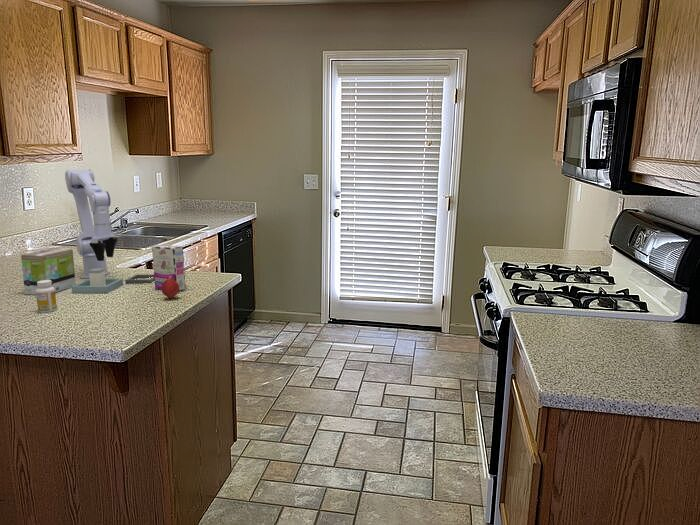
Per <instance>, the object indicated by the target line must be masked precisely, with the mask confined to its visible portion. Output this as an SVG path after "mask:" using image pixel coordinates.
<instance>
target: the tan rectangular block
mask: <svg viewBox="0 0 700 525" xmlns="http://www.w3.org/2000/svg"><path fill="white" fill-rule="evenodd" d="M88 279H90V286H106V279H107V278H106V275H105V269H104V268H94V269H91V270H89V278H88Z"/></svg>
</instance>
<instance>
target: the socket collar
mask: <svg viewBox="0 0 700 525" xmlns="http://www.w3.org/2000/svg"><path fill="white" fill-rule="evenodd" d="M149 277H150V278H151V277H153V278H151V279H137V278H149ZM135 279H136V280H135ZM153 281H155V279H154V274H134V275H132V276H131V277H129V278H126V279H125V284H126V285H144V284H143V283H152V282H153ZM129 283H130V284H129ZM131 283H132V284H131ZM134 283H135V284H134ZM141 283H142V284H141ZM153 283H154V282H153ZM153 283H152V284H153Z"/></svg>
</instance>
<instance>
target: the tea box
mask: <svg viewBox="0 0 700 525" xmlns="http://www.w3.org/2000/svg"><path fill="white" fill-rule="evenodd" d="M20 256H21V257H20V258H21V267H22V268H21V269H22V280H23V289H24V294H25V295H33V296H34V295H35V296H36V289H37V288H39V287H38V286H37V282H38V281H42V280H51V282H52V285H51V287H54V289H55V293H57V292H60V291H64V290H68V289H72V288H71V287H72V286H74V285H76V284H77V283H76V273H75V272H76V270H75V261H74V252H73V249H71V248H46V249H42V250H37V251H32V252H28V253H23V254H20Z"/></svg>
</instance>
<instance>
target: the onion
mask: <svg viewBox="0 0 700 525" xmlns="http://www.w3.org/2000/svg"><path fill="white" fill-rule="evenodd" d="M161 292H162V294H163V295H164V296H165V297H167V298H168V299H171V300H173V299H174V298H175V297H176V296H177V295H178V294H179V293H180V291H179V285H178V283H177V282H176V281H175V280H173V279H172V276H170V277H169V278H168V279H167V280H166V281H165V282H164V283H163V285H162V290H161Z"/></svg>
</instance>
